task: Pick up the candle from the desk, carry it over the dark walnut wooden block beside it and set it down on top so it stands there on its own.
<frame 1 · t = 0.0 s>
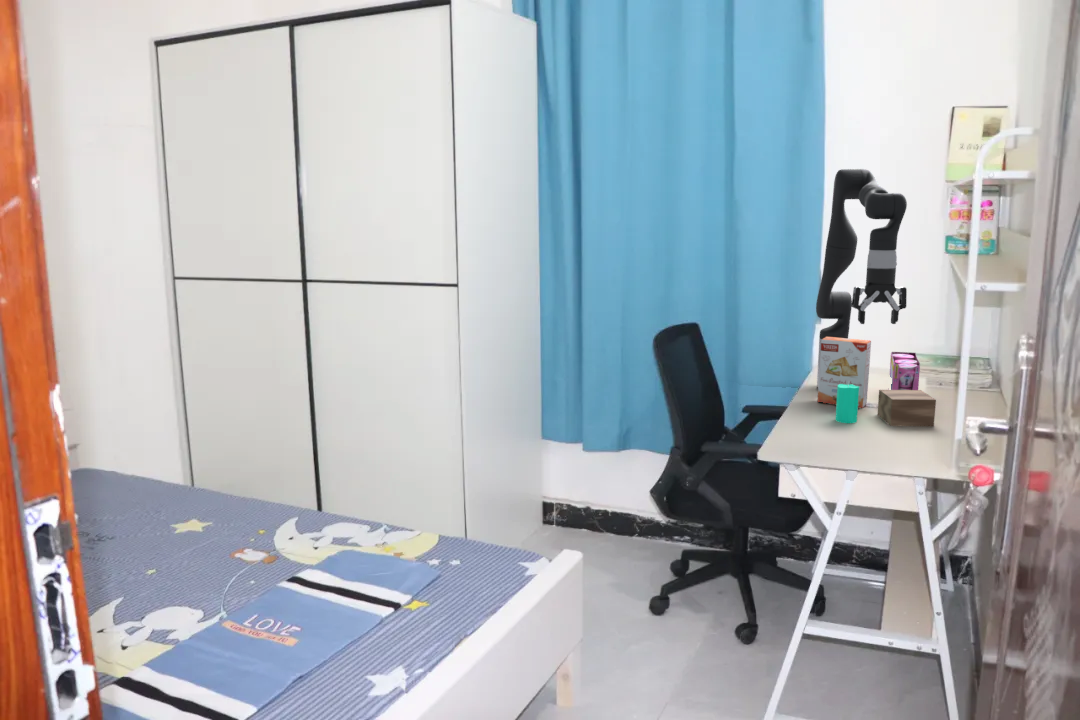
hand: (877, 323, 233), 29 cm above the table, tool pointing down, fingers open, 8 cm apart
candle: (846, 421, 243), on the table
cracker box: (841, 404, 262), on the table
walnut block: (904, 421, 242), on the table
gum box: (902, 399, 268), on the table
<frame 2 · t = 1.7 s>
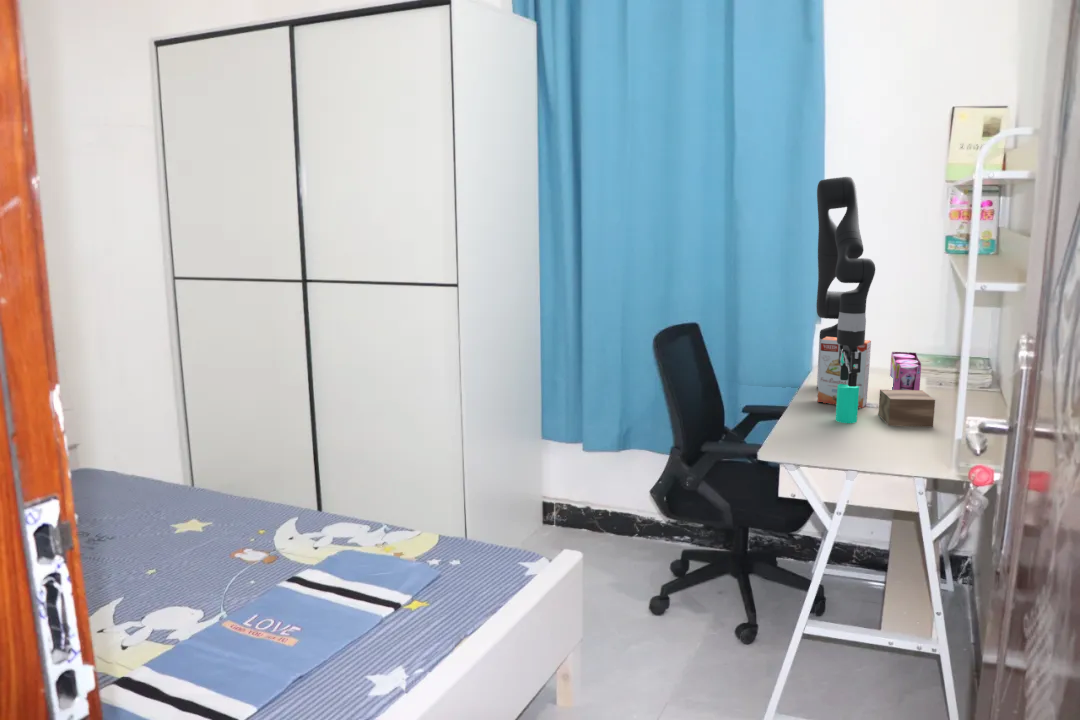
hand: (847, 383, 240), 11 cm above the table, tool pointing down, fingers open, 8 cm apart
nothing on the table moved.
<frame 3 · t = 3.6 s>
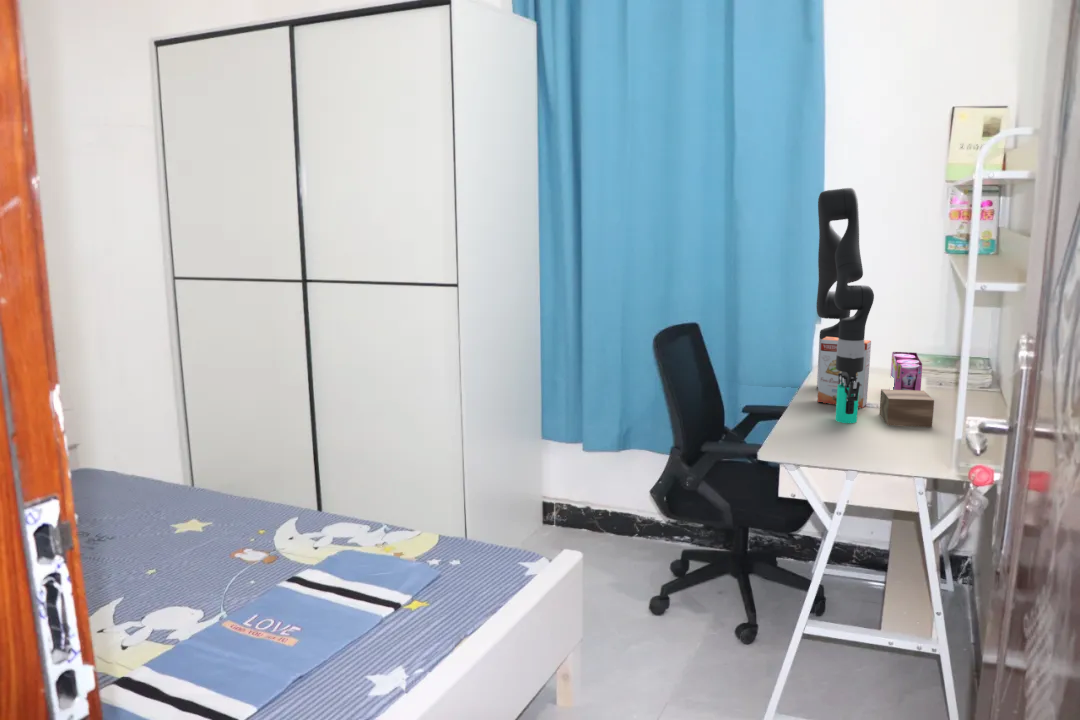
hand: (846, 411, 242), 3 cm above the table, tool pointing down, fingers closed on candle, 5 cm apart
candle: (846, 421, 243), on the table, touching gripper
everything else where it was.
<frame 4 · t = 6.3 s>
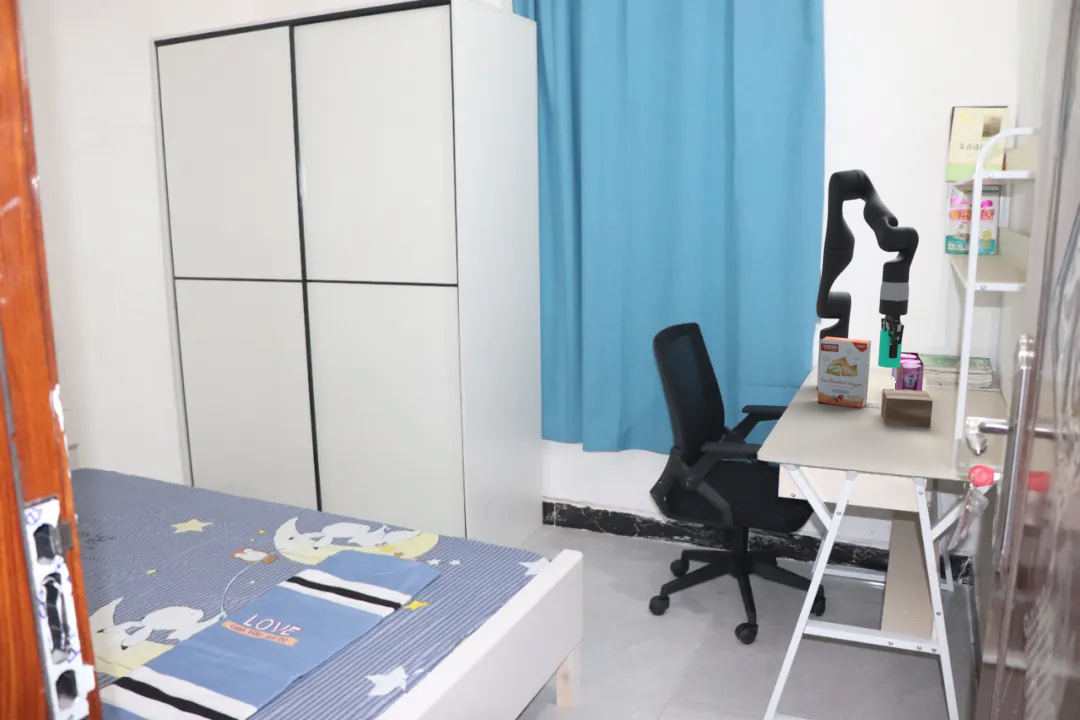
hand: (889, 355, 238), 19 cm above the table, tool pointing down, fingers closed on candle, 5 cm apart
candle: (888, 366, 239), point 16 cm above the table, touching gripper
everything else where it was.
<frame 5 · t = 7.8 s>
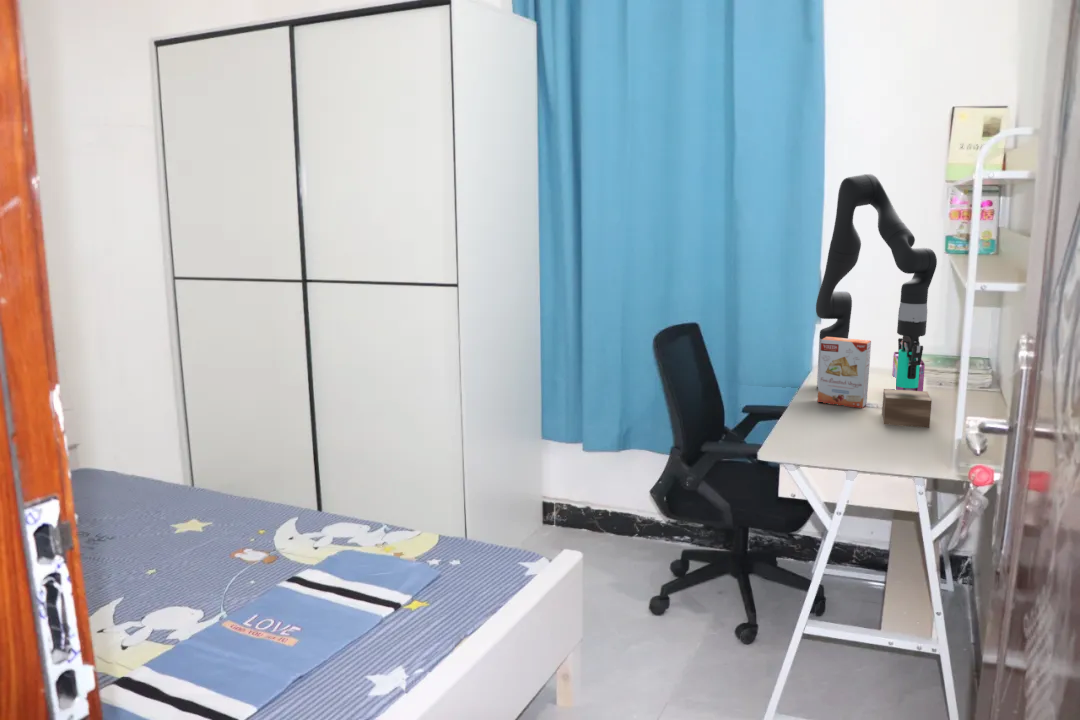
hand: (907, 376, 240), 13 cm above the table, tool pointing down, fingers closed on candle, 5 cm apart
candle: (906, 386, 240), point 10 cm above the table, touching gripper
when the fingers open (12 cm above the table, at t = 9.1 s): candle drops 1 cm, resting on walnut block.
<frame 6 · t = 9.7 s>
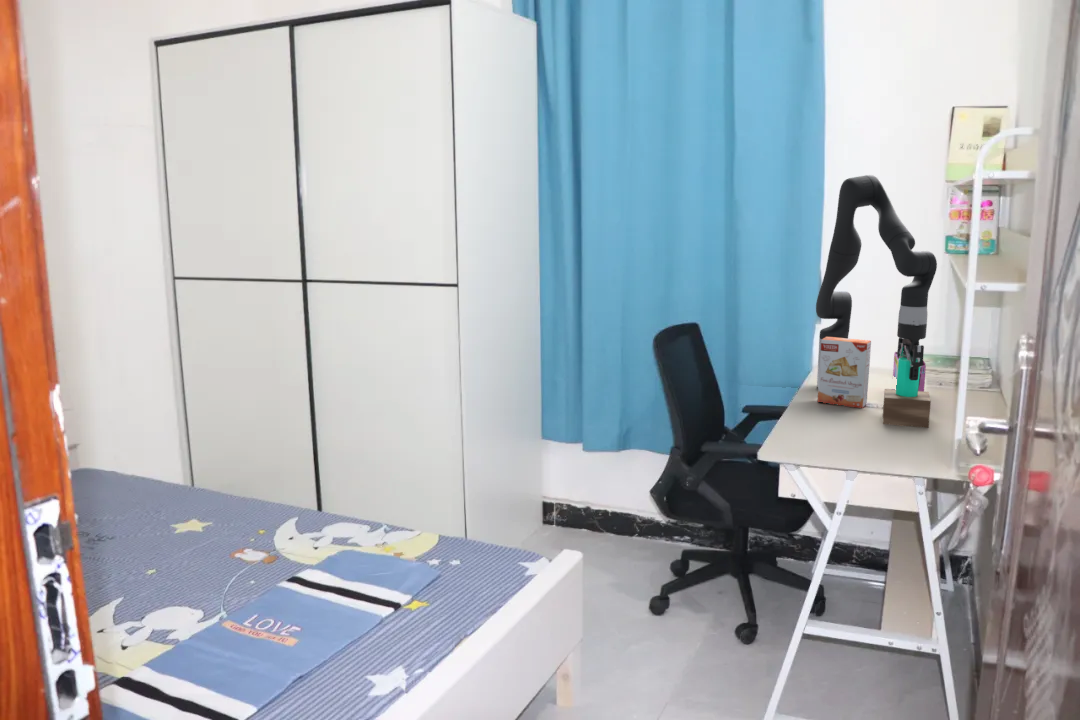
hand: (908, 376, 240), 13 cm above the table, tool pointing down, fingers open, 8 cm apart
candle: (906, 394, 241), point 8 cm above the table, touching walnut block
walnut block: (904, 421, 242), on the table, touching candle
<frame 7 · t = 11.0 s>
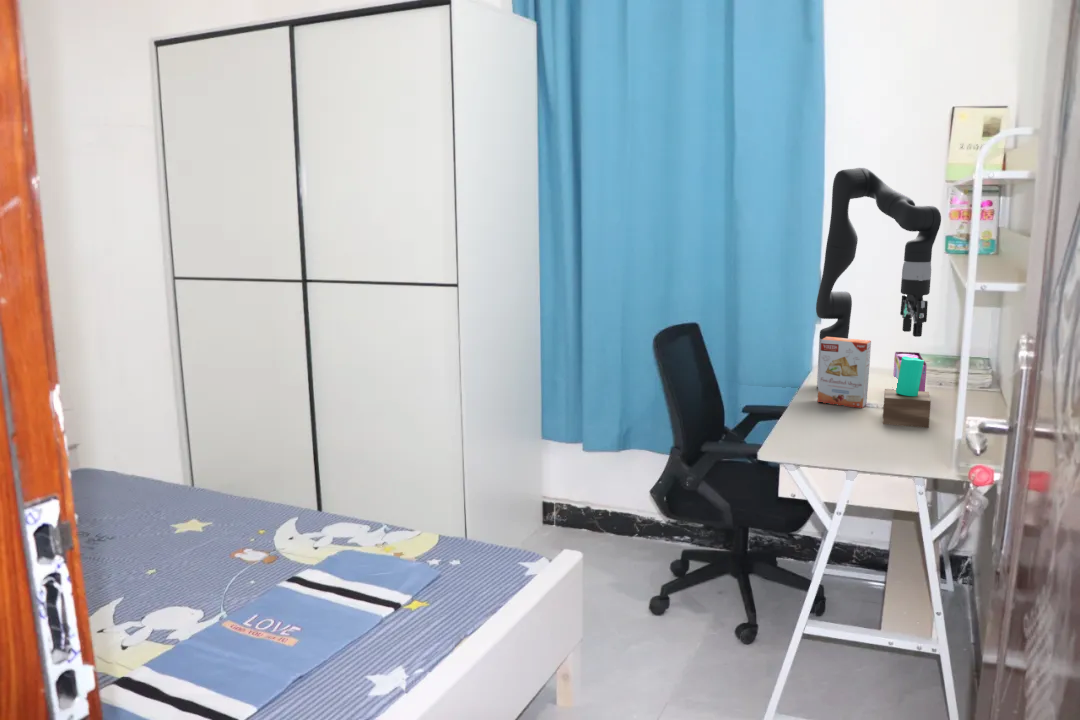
hand: (911, 333, 237), 26 cm above the table, tool pointing down, fingers open, 8 cm apart
candle: (906, 394, 241), point 8 cm above the table
walnut block: (905, 421, 242), on the table
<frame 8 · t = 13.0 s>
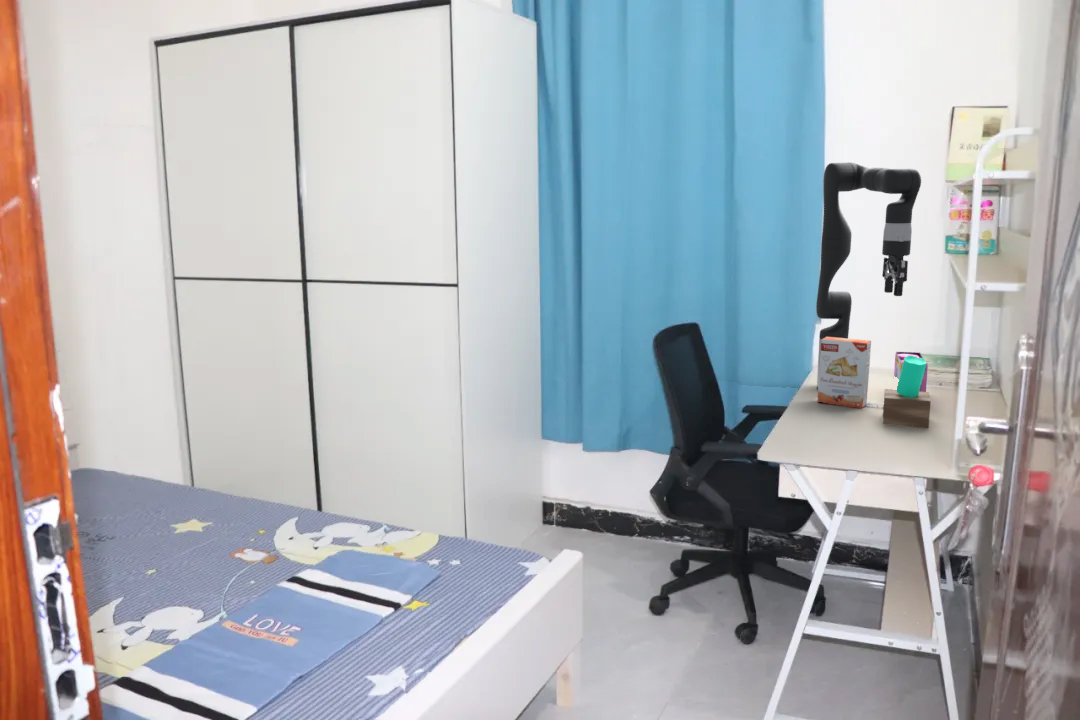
hand: (893, 294, 244), 36 cm above the table, tool pointing down, fingers open, 8 cm apart
candle: (907, 393, 240), point 8 cm above the table, touching walnut block
walnut block: (904, 421, 242), on the table, touching candle
at the end: candle inside the target area on the walnut block (0.2 cm from its centre), point 8.3 cm above the walnut block's base; candle tilted 10°; the gripper is holding nothing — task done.
